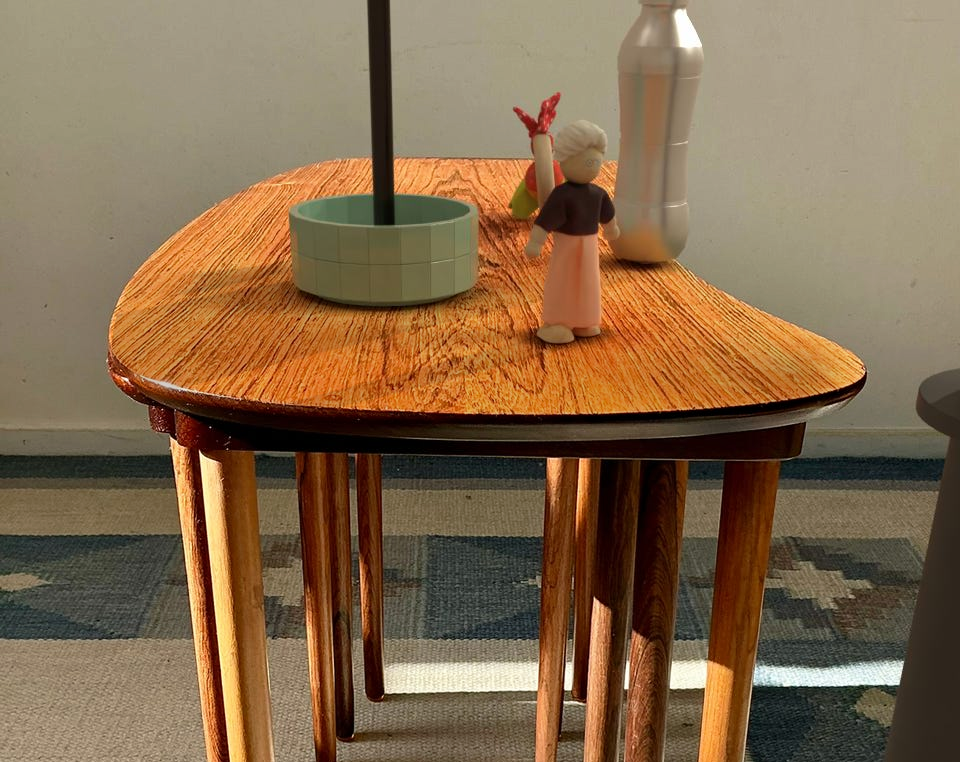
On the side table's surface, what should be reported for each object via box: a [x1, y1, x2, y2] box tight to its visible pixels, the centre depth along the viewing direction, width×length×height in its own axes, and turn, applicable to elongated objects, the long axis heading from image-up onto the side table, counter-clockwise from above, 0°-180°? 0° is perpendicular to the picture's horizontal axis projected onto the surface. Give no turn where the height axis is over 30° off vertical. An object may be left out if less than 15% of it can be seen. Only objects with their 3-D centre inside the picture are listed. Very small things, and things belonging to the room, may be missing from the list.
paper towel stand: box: [366, 0, 395, 225], centre depth 84 cm, size 5×5×19 cm
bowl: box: [288, 192, 480, 307], centre depth 87 cm, size 13×13×6 cm
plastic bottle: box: [607, 0, 705, 265], centre depth 92 cm, size 6×7×20 cm
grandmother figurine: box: [524, 119, 620, 344], centre depth 75 cm, size 8×4×13 cm, turn 143°
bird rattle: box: [507, 91, 567, 221], centre depth 108 cm, size 6×11×9 cm
